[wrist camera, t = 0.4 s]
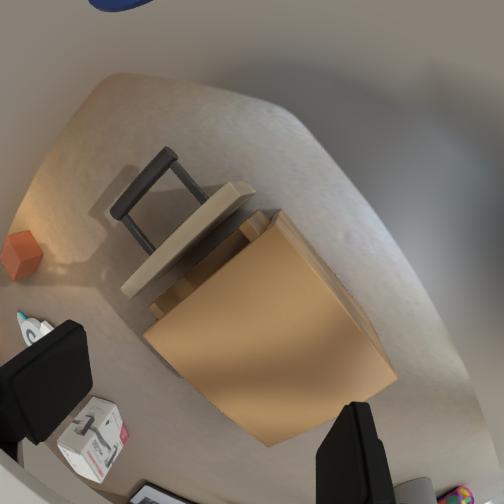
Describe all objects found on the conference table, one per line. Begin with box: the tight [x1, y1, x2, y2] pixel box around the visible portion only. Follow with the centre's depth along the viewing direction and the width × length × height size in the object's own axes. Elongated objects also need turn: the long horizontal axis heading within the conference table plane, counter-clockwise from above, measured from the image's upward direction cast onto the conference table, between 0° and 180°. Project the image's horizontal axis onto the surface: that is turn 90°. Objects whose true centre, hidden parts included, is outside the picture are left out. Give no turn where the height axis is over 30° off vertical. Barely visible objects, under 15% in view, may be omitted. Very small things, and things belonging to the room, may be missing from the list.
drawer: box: [110, 146, 271, 320], centre depth 22 cm, size 19×11×8 cm, turn 41°
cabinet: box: [143, 209, 398, 447], centre depth 23 cm, size 15×13×10 cm
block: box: [0, 230, 43, 281], centre depth 29 cm, size 4×4×4 cm
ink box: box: [57, 396, 129, 483], centre depth 31 cm, size 9×5×12 cm, turn 0°
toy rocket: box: [17, 312, 54, 347], centre depth 33 cm, size 16×10×2 cm, turn 59°
